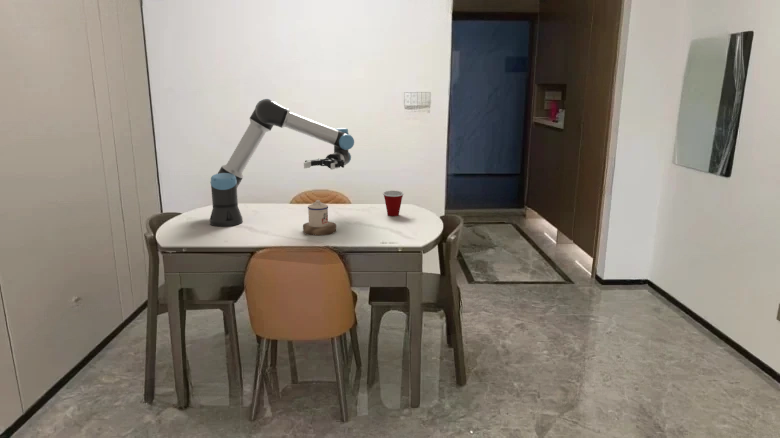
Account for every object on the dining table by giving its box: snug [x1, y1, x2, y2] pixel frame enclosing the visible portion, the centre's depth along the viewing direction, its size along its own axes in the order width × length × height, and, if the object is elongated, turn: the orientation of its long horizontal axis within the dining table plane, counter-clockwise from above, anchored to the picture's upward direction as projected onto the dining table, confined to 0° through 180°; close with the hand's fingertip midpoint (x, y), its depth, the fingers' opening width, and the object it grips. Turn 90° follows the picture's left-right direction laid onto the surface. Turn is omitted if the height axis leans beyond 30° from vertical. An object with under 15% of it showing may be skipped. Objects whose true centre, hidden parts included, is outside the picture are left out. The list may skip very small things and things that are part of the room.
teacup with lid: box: [307, 199, 329, 228], centre depth 244 cm, size 12×9×12 cm
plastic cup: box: [382, 190, 405, 217], centre depth 277 cm, size 11×11×12 cm
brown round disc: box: [302, 220, 337, 236], centre depth 246 cm, size 15×15×3 cm
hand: (317, 166), depth 253 cm, fingers open, 13 cm apart
